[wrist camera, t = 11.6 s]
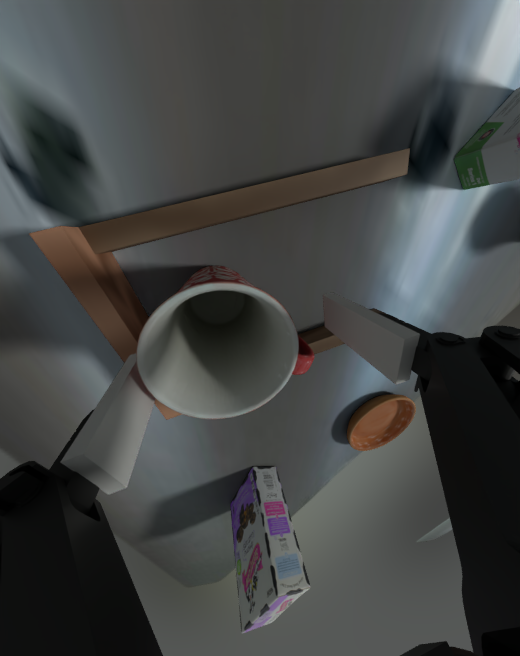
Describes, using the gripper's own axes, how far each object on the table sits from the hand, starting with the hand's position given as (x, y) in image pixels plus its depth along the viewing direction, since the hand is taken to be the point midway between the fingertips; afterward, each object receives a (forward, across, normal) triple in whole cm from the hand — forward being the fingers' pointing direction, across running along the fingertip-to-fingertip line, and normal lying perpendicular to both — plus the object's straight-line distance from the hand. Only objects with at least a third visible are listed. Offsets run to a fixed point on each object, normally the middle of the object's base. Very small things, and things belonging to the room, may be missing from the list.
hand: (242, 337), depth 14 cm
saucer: (+11, +23, -36) cm, 44 cm away
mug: (+11, 0, -1) cm, 11 cm away
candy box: (+10, -8, -43) cm, 45 cm away
